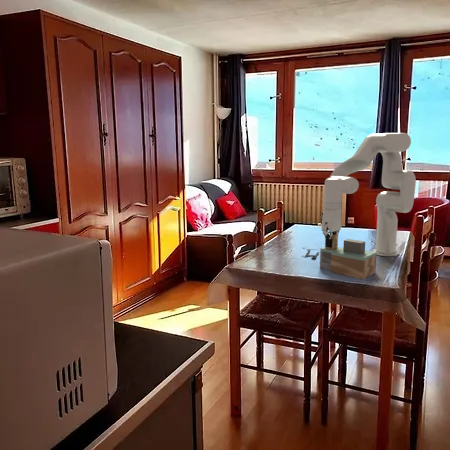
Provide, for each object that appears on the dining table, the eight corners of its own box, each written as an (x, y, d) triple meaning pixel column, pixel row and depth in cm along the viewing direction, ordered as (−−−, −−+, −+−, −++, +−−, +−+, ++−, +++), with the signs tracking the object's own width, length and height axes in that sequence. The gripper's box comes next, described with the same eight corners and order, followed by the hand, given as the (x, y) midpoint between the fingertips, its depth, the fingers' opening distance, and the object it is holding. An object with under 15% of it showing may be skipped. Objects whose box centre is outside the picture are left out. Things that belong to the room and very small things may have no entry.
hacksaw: (315, 261, 209) (315, 258, 209) (294, 259, 212) (294, 256, 212) (322, 249, 231) (322, 246, 231) (303, 247, 235) (303, 245, 234)
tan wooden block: (329, 259, 198) (329, 234, 196) (337, 261, 195) (337, 235, 193) (324, 261, 195) (325, 235, 193) (332, 263, 192) (333, 237, 190)
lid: (331, 247, 201) (331, 234, 200) (376, 255, 186) (377, 241, 185) (317, 252, 192) (317, 238, 191) (363, 260, 177) (364, 246, 176)
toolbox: (330, 263, 202) (331, 247, 201) (375, 272, 188) (376, 255, 186) (316, 269, 194) (317, 252, 192) (363, 279, 179) (363, 260, 177)
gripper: (334, 203, 199) (333, 241, 202) (315, 207, 187) (314, 248, 190) (349, 204, 194) (347, 244, 197) (330, 209, 182) (329, 251, 185)
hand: (331, 245), depth 194 cm, fingers closed on tan wooden block, 4 cm apart
